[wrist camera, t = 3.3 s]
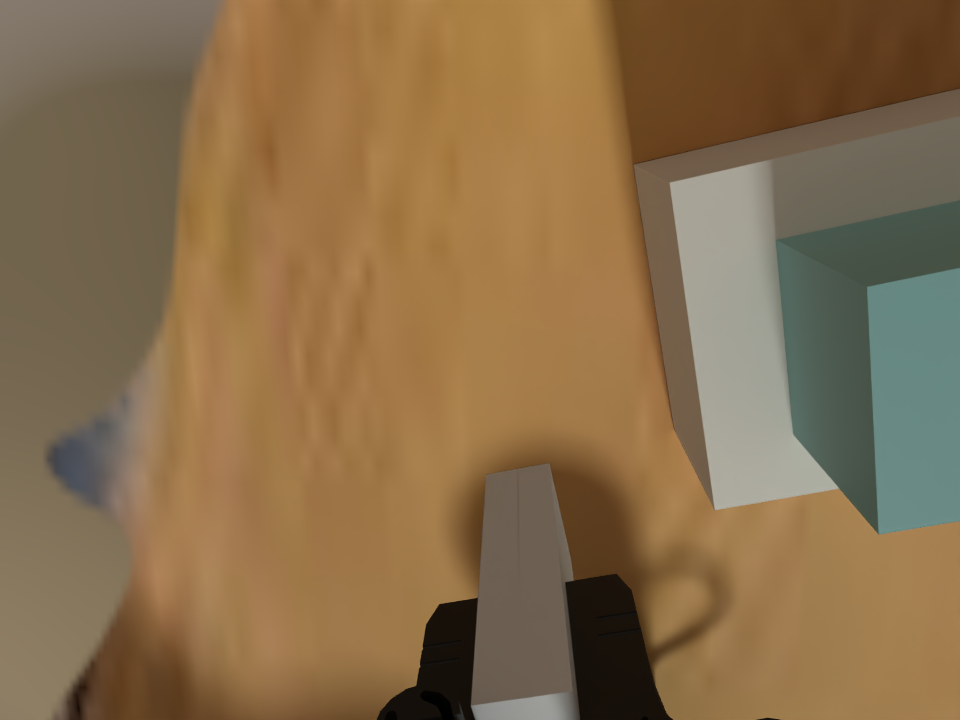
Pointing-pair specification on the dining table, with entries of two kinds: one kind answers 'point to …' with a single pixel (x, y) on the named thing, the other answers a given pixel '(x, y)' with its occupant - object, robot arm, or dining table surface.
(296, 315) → the dining table surface
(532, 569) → the robot arm
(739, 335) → the display stand
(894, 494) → the carton
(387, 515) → the dining table surface
